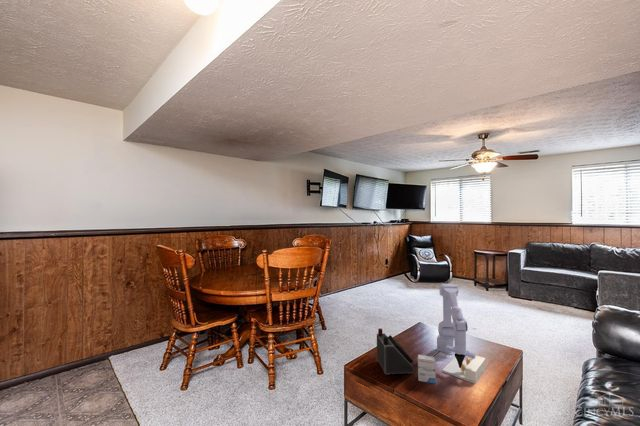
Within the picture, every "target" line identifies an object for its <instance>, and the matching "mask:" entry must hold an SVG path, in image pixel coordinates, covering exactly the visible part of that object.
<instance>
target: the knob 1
mask: <svg viewBox="0 0 640 426" xmlns="http://www.w3.org/2000/svg"><path fill="white" fill-rule="evenodd" d="M465 368H466V365H465V364H462V365H461V371H463V372H465Z"/></svg>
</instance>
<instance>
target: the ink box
mask: <svg viewBox="0 0 640 426" xmlns="http://www.w3.org/2000/svg"><path fill="white" fill-rule="evenodd" d="M436 374H437V373H436V358H435V356H430V355H425V354H417V377H418V378H417V379H418V380H417V381H419V382H424V383H429V384H437V383H436V379H437V378H436Z"/></svg>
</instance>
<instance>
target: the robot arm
mask: <svg viewBox="0 0 640 426" xmlns="http://www.w3.org/2000/svg"><path fill="white" fill-rule="evenodd" d="M439 295H440V296H442V313H443V314H442V319H443V320H442V321H440V322H438V328H437V329H438V331H437V332H438V335H437V336H436V351H438V352H442V353H444V354H447V355H450V356H451V355H454V358H455V357H456V359H457V362H458V365H459V368H461V365H462V363H463V360H465V359H466V357H467V358H470V359H475V356H476V354H475V353H473V352H471V351H469V350H467V332H468V330H469V329H468V322H467V320H466V318H465V317H464V316H463V312H462V308H460V307H459V305H458V304H459V303H458V298H457V297H458V295H459V286H458V285H457V284H456V283H455V284H447V283H446V284H445V283H443V284H442V283H441V284H440V285H439Z"/></svg>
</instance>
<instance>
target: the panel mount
mask: <svg viewBox="0 0 640 426" xmlns="http://www.w3.org/2000/svg"><path fill="white" fill-rule="evenodd" d="M471 359H472V360H471V362H470V363H469V364H468V365H467V364H466V360H467V359H466V360H465V359H464V360H463V363H462V364H465V365H466V368H465V372H463V371H461V368H459V365H458V362H457V359H456V357H455V356H454V357H453V358H452V360H450V362H449V363H448V364H447V365H446V366H445V367H444V368H442V373H446V374H447V375H451V376H452V377H456V378H458V379H461V380H464V381H466V382H469V383H472V384H474V385H476V384H477V383H478V380H479V379H480V378H481V377H482V376H483V374H484V373H485V371H486V370H487V358H486V357H482V356H479V355H475V359H473V358H471Z"/></svg>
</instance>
